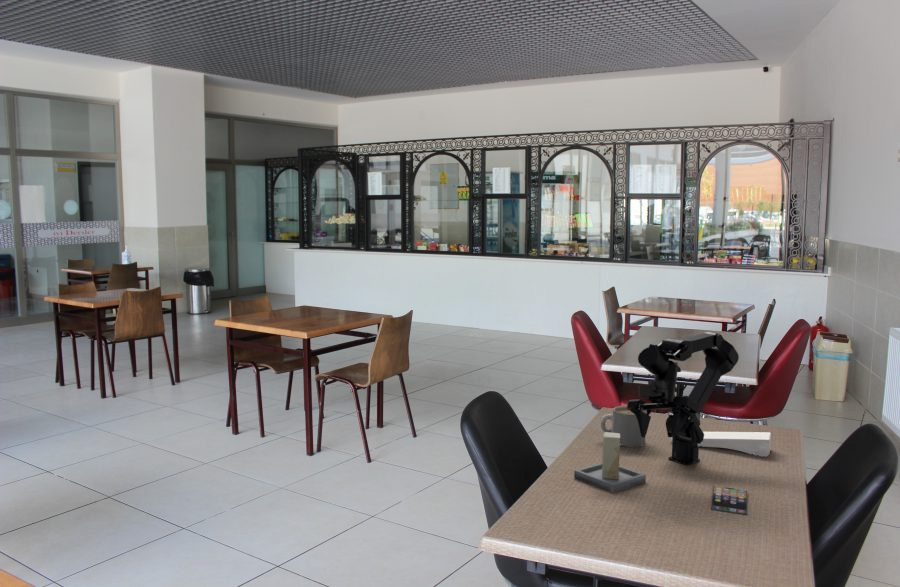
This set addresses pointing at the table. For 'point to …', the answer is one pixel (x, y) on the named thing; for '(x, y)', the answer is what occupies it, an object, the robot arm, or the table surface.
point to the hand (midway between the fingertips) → (657, 437)
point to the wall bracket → (739, 441)
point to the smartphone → (729, 500)
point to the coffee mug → (624, 426)
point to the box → (611, 455)
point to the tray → (613, 485)
